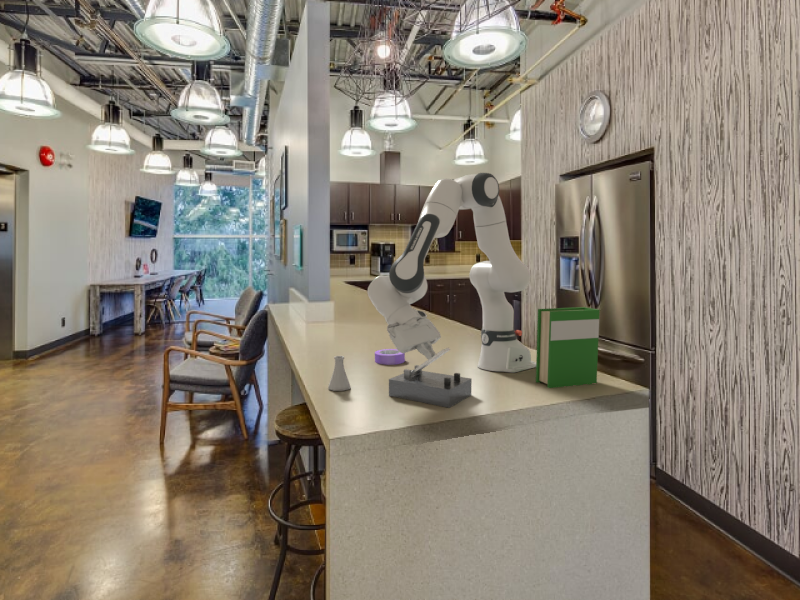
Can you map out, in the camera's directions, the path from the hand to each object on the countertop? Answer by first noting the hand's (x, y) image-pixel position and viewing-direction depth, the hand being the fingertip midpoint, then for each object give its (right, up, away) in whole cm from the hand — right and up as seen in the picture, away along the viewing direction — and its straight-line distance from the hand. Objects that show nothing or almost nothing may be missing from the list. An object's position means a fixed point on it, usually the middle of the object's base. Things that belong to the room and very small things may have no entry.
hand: (432, 357), depth 139 cm
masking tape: (-13, -7, +46) cm, 49 cm away
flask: (-28, -11, +9) cm, 32 cm away
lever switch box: (-1, -11, +2) cm, 12 cm away
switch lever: (-1, -2, +1) cm, 2 cm away
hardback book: (+44, -10, +15) cm, 48 cm away
